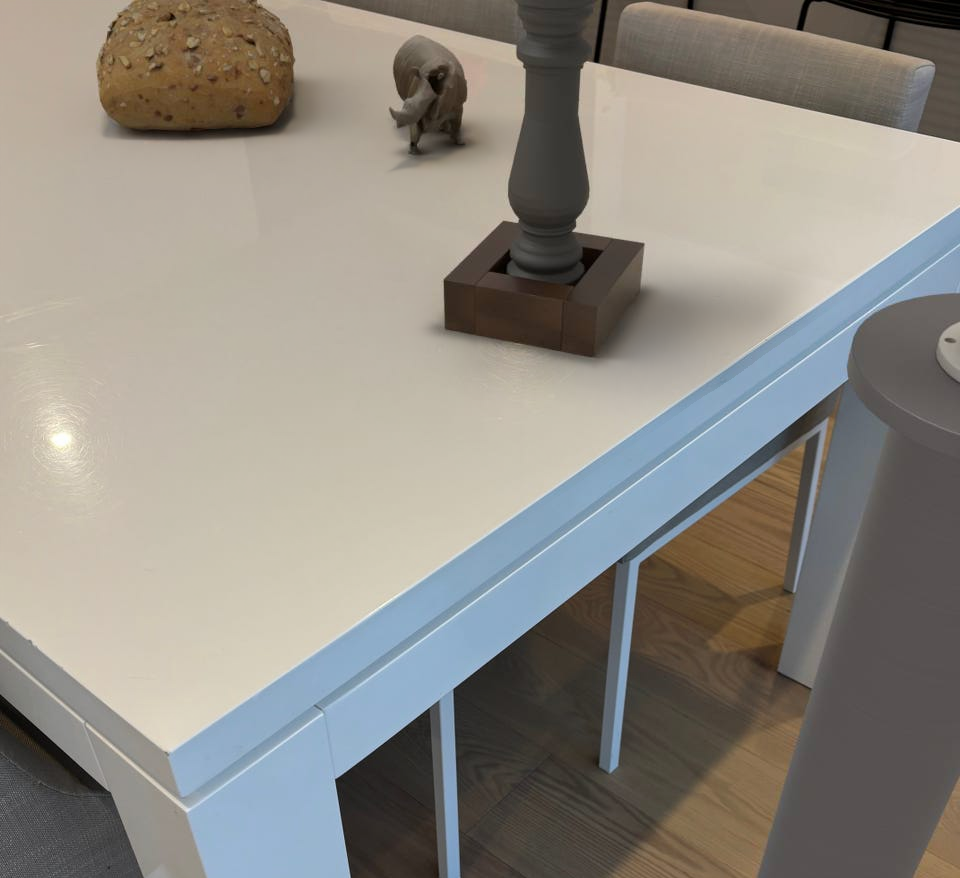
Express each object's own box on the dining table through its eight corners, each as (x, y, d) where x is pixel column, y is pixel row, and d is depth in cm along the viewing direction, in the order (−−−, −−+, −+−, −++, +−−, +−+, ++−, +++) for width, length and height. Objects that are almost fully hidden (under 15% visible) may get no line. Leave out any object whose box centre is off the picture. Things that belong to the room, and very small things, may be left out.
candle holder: (588, 295, 88) (612, -65, 71) (575, 330, 84) (598, -46, 67) (514, 288, 89) (520, -69, 72) (498, 322, 85) (500, -50, 68)
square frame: (640, 290, 89) (645, 242, 86) (593, 357, 80) (597, 306, 78) (502, 266, 92) (503, 220, 89) (444, 328, 84) (443, 279, 81)
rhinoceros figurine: (468, 84, 121) (457, -21, 107) (478, 193, 119) (467, 100, 104) (400, 92, 122) (379, -12, 107) (407, 201, 119) (387, 109, 104)
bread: (294, 138, 116) (280, 13, 108) (94, 143, 115) (64, 17, 107) (306, 72, 134) (294, -40, 126) (133, 76, 133) (110, -36, 125)
